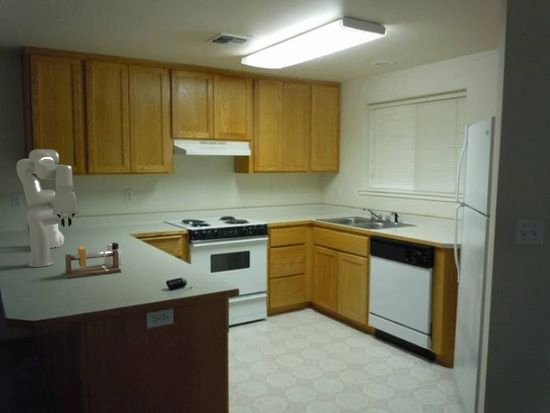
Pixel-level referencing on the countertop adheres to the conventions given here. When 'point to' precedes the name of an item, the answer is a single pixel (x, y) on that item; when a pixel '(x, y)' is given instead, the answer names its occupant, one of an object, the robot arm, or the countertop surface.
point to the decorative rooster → (55, 235)
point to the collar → (82, 256)
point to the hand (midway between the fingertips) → (66, 226)
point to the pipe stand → (96, 269)
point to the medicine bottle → (110, 259)
